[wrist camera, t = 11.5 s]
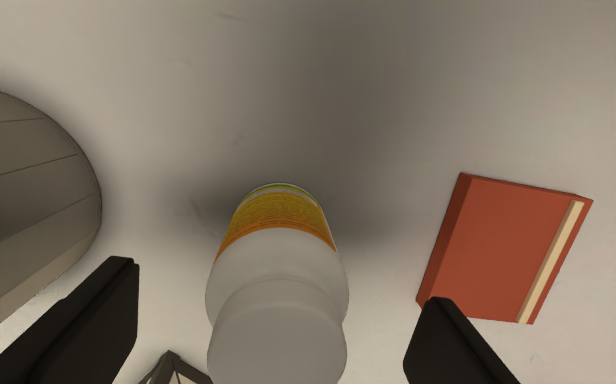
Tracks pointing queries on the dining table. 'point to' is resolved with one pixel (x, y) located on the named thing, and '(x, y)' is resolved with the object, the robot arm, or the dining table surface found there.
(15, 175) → the pot
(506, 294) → the book
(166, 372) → the lantern
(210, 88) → the dining table surface
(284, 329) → the supplement bottle
